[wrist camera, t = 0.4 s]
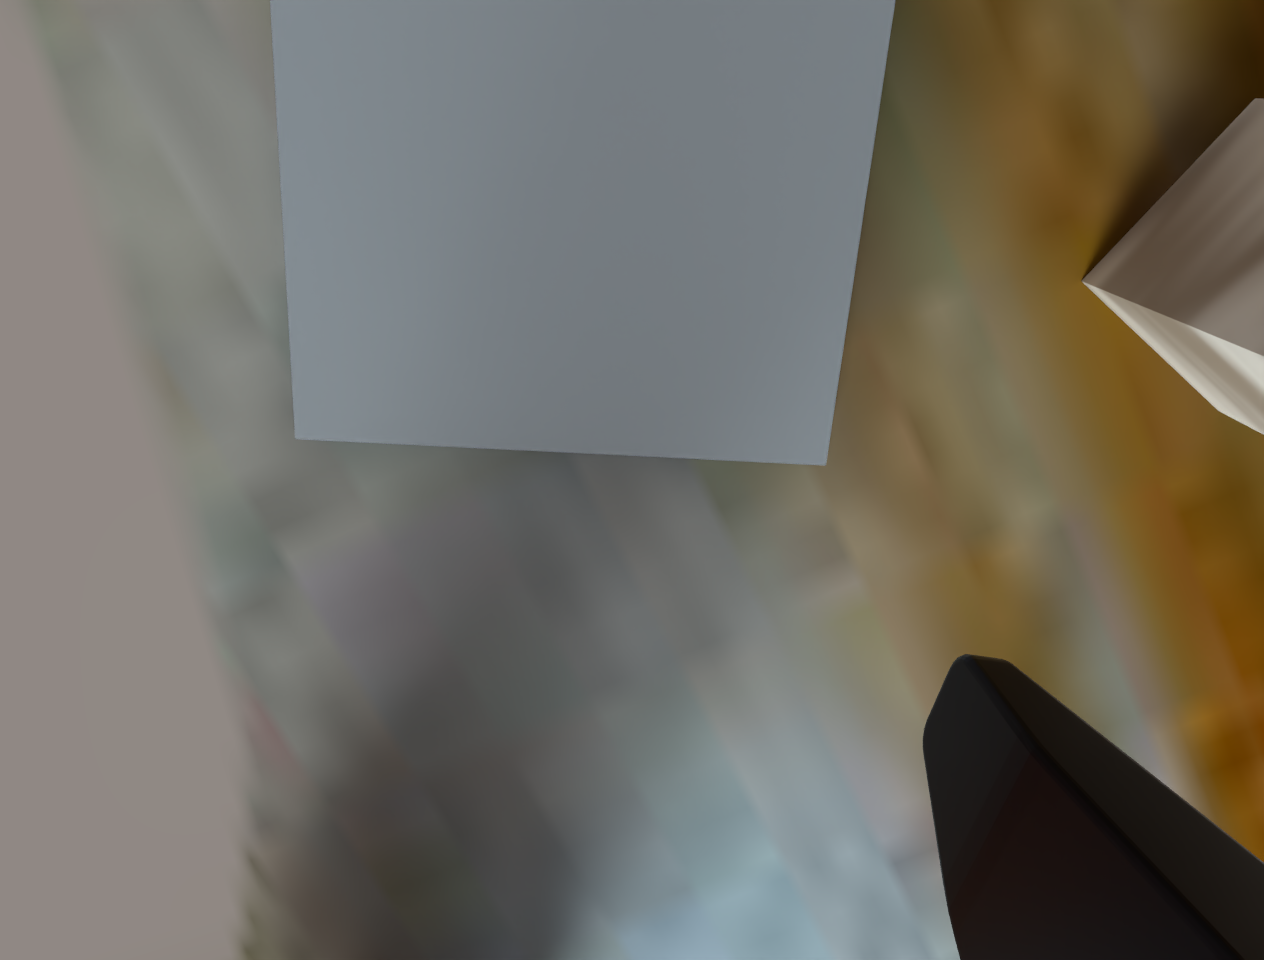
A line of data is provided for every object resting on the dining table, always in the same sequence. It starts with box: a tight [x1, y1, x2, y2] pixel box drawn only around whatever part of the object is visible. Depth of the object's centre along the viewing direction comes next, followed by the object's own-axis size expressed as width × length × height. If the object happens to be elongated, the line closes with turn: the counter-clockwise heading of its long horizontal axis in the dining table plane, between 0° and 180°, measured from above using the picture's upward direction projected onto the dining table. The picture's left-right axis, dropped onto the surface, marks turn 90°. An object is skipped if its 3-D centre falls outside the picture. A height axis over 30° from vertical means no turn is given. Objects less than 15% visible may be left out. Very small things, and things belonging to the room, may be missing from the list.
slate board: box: [270, 0, 895, 465], centre depth 21 cm, size 14×12×1 cm
